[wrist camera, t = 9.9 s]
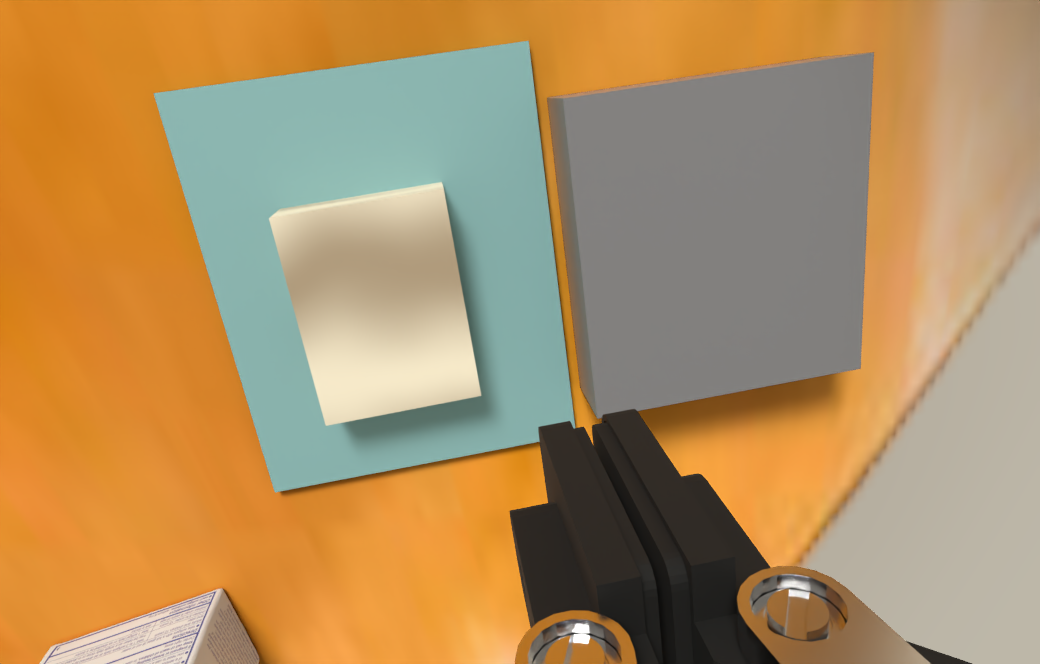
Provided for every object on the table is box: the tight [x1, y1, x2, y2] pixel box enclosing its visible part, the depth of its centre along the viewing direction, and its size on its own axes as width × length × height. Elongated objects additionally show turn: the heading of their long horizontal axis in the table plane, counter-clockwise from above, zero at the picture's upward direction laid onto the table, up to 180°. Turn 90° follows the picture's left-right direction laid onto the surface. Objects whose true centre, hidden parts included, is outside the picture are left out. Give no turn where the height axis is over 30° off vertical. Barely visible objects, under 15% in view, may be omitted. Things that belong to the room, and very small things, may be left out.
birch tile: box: [269, 182, 481, 426], centre depth 26 cm, size 8×6×2 cm
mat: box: [154, 41, 575, 492], centre depth 27 cm, size 16×13×1 cm
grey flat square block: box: [547, 53, 874, 419], centre depth 27 cm, size 12×11×3 cm
